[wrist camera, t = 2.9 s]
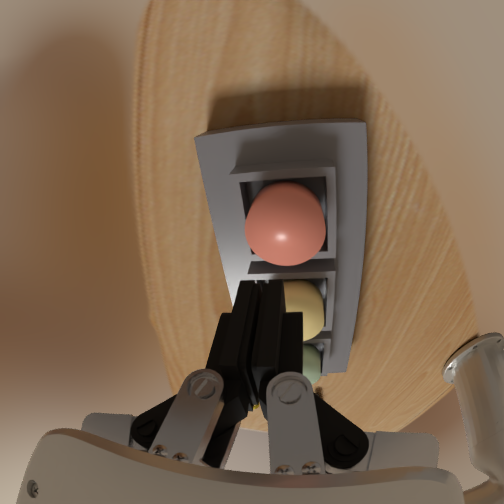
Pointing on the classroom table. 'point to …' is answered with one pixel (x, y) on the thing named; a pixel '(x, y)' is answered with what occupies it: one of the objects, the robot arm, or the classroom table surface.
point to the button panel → (325, 188)
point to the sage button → (311, 362)
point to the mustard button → (305, 304)
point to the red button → (285, 224)
